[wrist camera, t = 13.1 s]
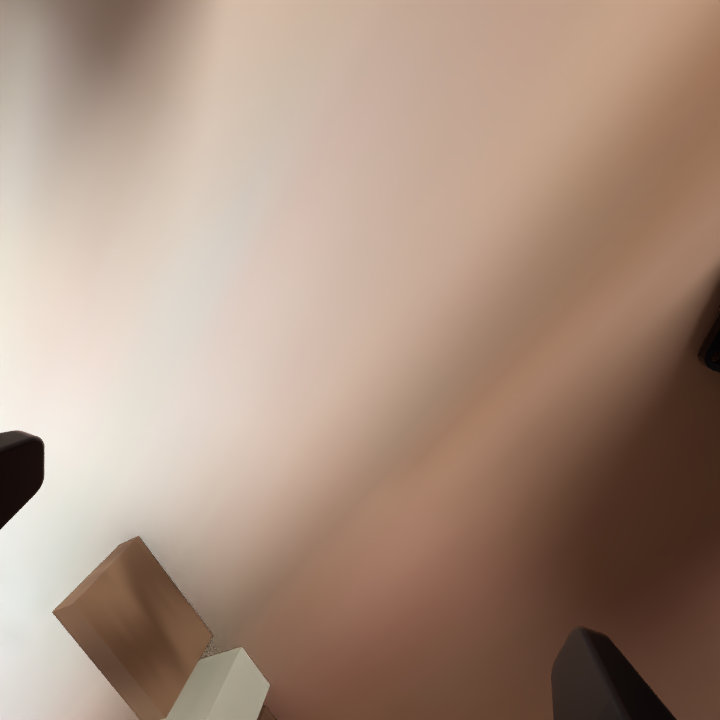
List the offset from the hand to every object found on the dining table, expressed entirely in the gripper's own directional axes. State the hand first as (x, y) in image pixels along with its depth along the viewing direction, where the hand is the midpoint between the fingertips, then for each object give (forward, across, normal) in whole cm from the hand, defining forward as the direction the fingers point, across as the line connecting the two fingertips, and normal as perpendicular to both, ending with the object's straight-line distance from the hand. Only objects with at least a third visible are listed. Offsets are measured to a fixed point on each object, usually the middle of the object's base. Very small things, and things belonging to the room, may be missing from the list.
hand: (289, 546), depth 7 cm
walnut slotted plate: (+12, +4, +22) cm, 25 cm away
